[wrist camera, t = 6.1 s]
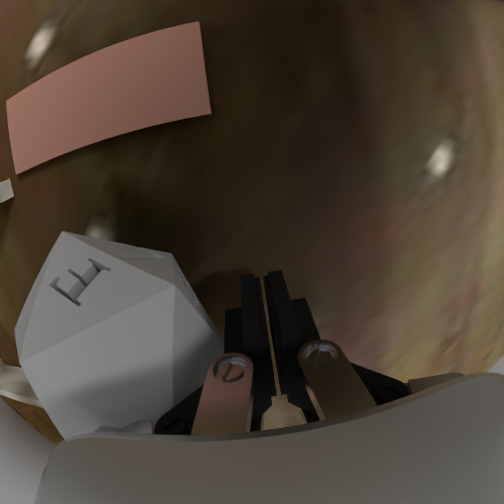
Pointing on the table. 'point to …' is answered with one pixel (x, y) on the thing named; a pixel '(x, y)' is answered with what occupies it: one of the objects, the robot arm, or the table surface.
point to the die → (112, 335)
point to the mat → (110, 95)
